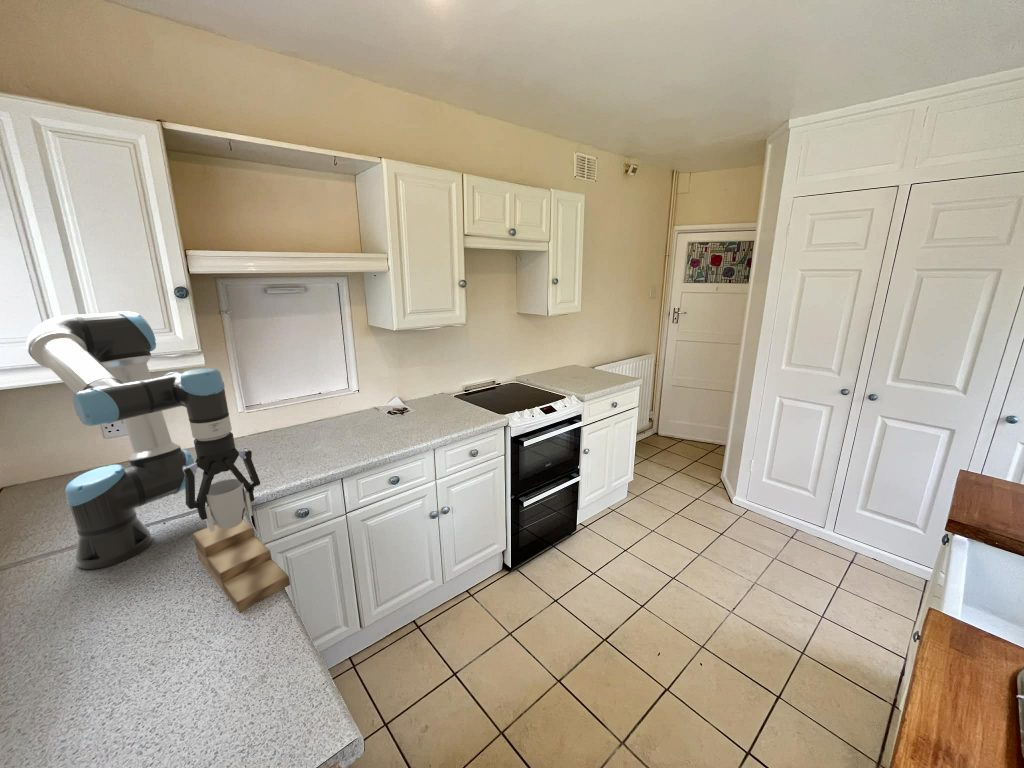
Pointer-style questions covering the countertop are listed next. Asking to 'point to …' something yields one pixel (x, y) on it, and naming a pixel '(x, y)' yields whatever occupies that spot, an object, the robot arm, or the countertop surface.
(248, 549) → the riser
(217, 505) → the cup
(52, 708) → the countertop surface
